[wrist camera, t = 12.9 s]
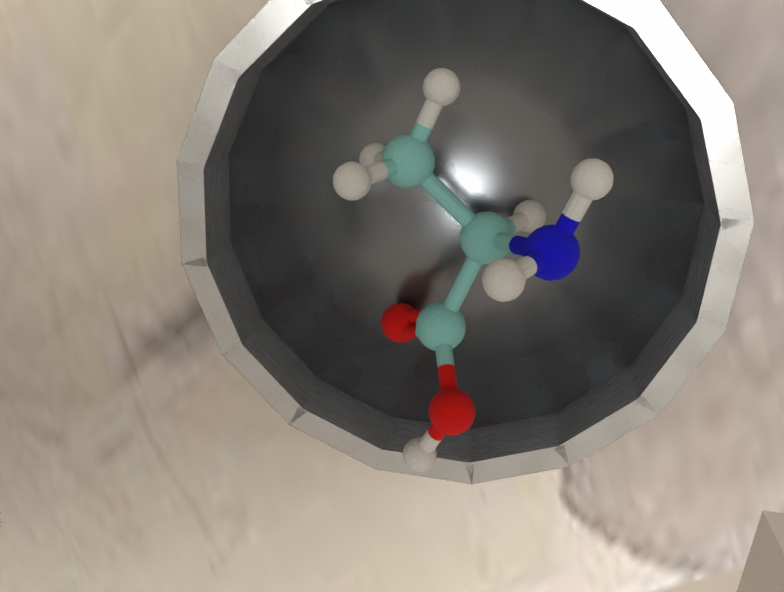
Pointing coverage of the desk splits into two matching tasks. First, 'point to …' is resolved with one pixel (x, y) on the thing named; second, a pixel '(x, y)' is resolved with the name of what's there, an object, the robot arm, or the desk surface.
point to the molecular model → (467, 252)
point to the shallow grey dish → (442, 232)
